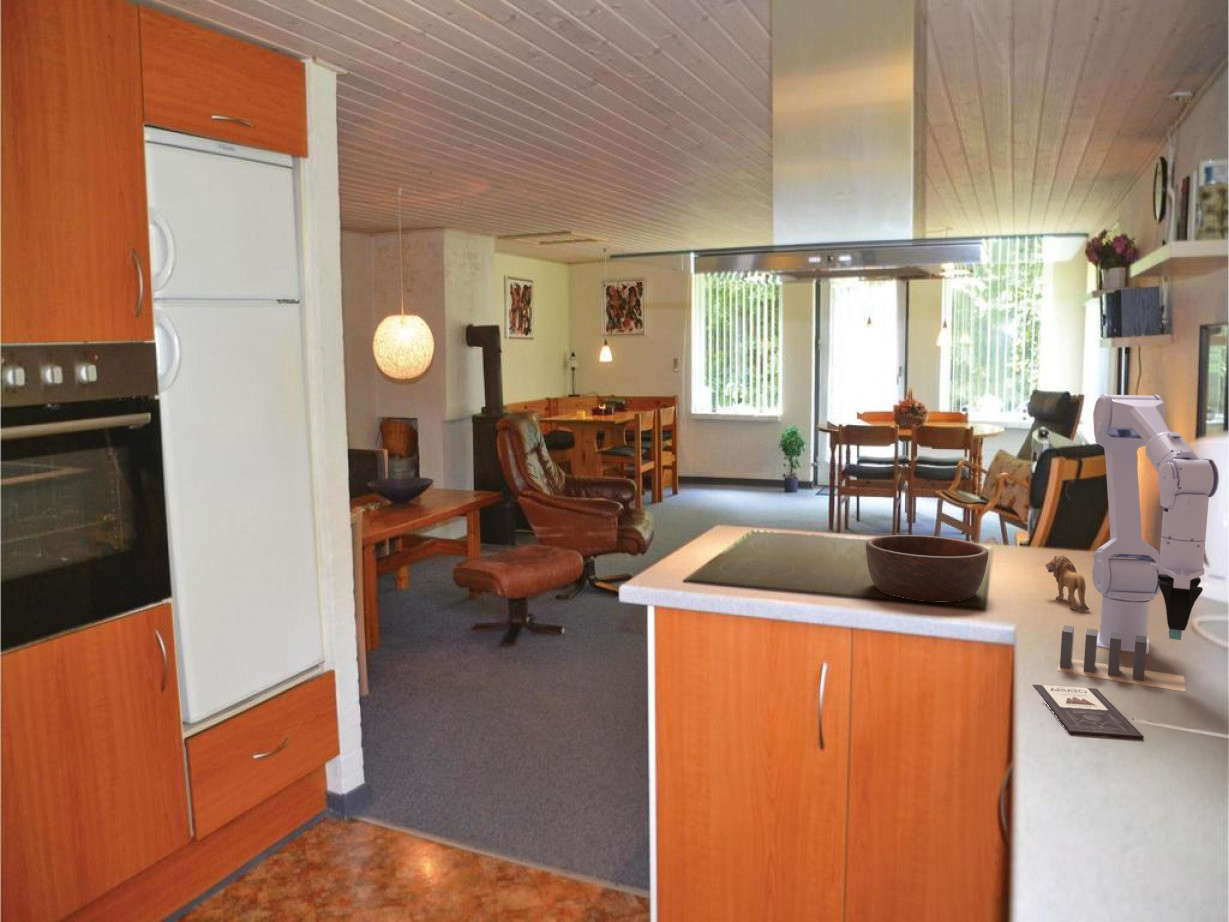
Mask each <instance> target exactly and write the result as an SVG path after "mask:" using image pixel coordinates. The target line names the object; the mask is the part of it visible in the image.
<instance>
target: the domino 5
mask: <svg viewBox="0 0 1229 922" xmlns="http://www.w3.org/2000/svg"><path fill="white" fill-rule="evenodd" d="M1182 632H1183V631H1182V630H1175V629H1169V628H1168V637H1169V639H1170V640H1175V641H1176V640H1177V641H1182Z"/></svg>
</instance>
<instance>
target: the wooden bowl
mask: <svg viewBox="0 0 1229 922" xmlns="http://www.w3.org/2000/svg"><path fill="white" fill-rule="evenodd" d="M865 553H866V563H867V564H866V565H867V569H868V573H869V576H870V579H871V580H872V583H873V585H874V586H875V588H876V589H877V590H878V589H879V590H881V591H883V592H885V593H888V594H891V595H895V596H899V597H904V598H909V599H915V600H923V601H922V602H924V601H958V602H960V601H959V600H964V599H967V600H969V599H971V598H972V597H974V596H975V594H977V592H978V591H979V589H980V587H981V586H982V583H983V581H984V577H985V574H986V570H987V566H988V561H989V556H990V555H989V554H990V553H989V549H987V548H986V547H984V546H983V545H981V544H978V543H975V542H972V541H968V540H963V539H956V538H953V537H952V538H950V537H944V536H943V537H942V536H933V535H923V534H922V535H920V534H916V535H915V534H896V535H895V534H894V535H882V536H881V535H880V536H877V537H872V538H870V539H868V540H867V541H866V543H865ZM879 590H878V591H879ZM881 591H880V592H881ZM883 592H882V593H883ZM885 593H884V594H885ZM968 598H969V599H968ZM915 600H914V601H915ZM964 601H965V600H964Z"/></svg>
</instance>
